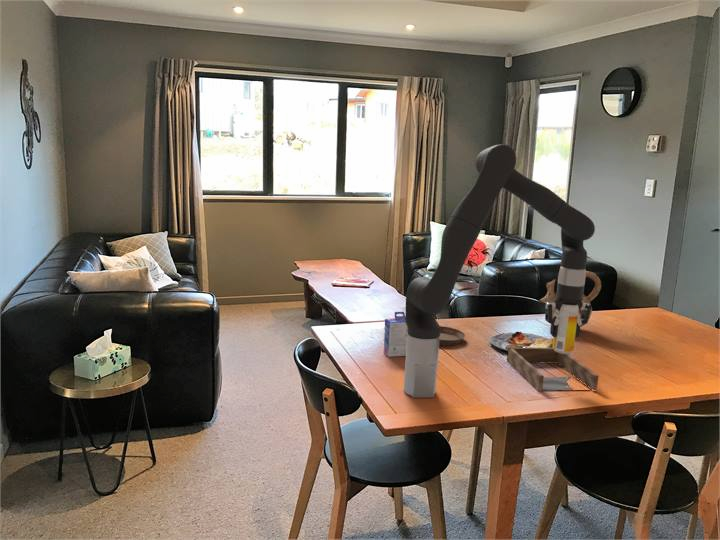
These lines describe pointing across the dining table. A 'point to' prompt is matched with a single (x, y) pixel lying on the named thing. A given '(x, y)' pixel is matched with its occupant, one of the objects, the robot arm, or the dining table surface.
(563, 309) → the beer can
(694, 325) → the dining table surface
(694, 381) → the dining table surface
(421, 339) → the robot arm
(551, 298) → the ceramic vessel
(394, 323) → the ink cartridge box
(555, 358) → the bay
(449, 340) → the plant saucer
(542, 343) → the food plate
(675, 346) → the dining table surface
